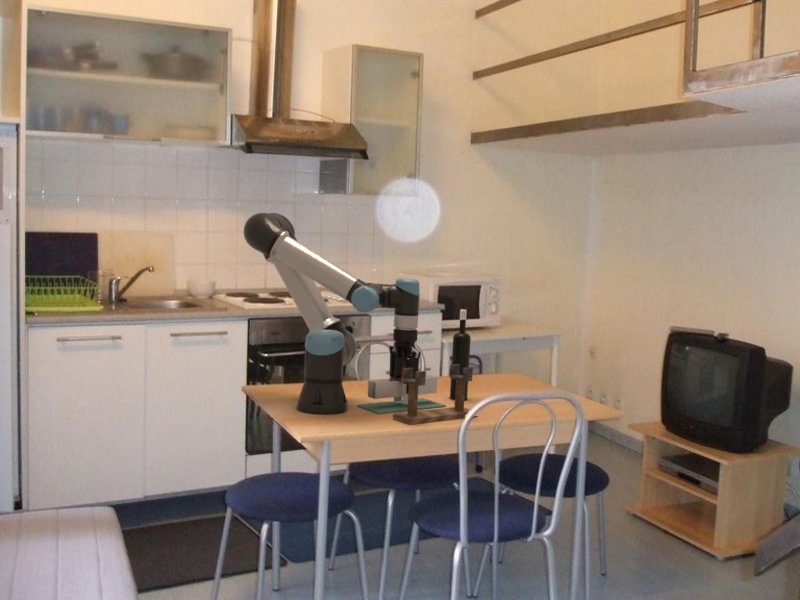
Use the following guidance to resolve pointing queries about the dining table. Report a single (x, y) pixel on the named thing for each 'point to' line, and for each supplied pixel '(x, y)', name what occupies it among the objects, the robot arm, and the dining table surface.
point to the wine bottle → (460, 353)
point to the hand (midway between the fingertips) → (402, 402)
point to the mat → (398, 406)
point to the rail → (398, 387)
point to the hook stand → (436, 414)
